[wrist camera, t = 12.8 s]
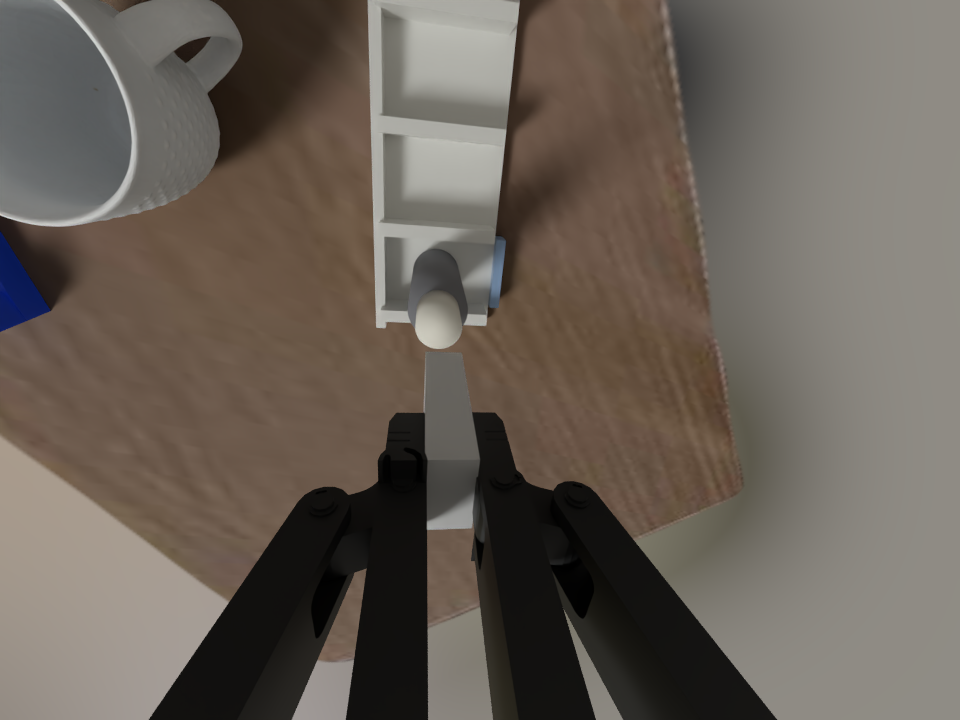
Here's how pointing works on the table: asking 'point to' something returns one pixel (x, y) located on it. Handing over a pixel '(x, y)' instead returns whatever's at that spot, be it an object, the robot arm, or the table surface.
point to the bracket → (16, 291)
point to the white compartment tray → (439, 142)
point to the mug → (106, 106)
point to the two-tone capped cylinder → (437, 299)
